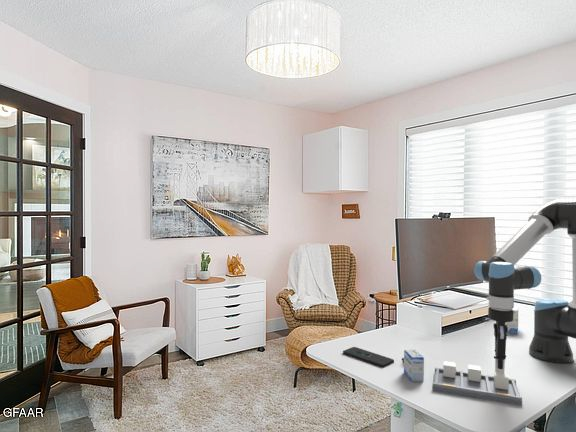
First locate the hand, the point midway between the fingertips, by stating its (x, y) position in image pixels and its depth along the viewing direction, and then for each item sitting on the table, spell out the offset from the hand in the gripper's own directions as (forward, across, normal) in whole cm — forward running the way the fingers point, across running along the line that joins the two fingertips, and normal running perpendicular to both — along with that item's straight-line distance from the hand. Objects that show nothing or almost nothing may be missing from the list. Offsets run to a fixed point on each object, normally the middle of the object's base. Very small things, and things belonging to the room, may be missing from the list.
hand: (499, 376), depth 135 cm
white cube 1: (+2, +3, 0) cm, 3 cm away
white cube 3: (+2, 0, -16) cm, 16 cm away
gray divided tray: (+4, +4, -8) cm, 9 cm away
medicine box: (+4, +3, -28) cm, 28 cm away
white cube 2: (+2, 0, -8) cm, 8 cm away
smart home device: (+5, -8, -47) cm, 48 cm away
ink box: (+4, -72, +10) cm, 73 cm away
